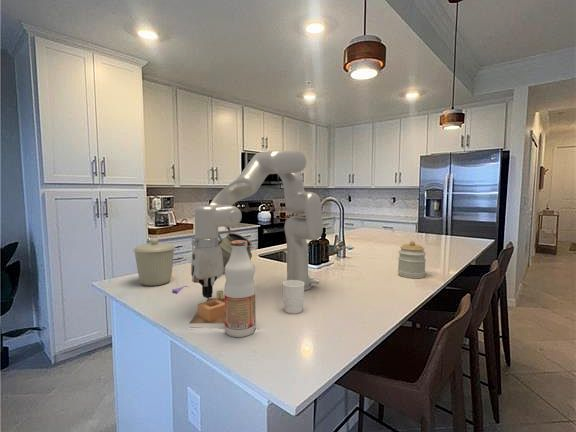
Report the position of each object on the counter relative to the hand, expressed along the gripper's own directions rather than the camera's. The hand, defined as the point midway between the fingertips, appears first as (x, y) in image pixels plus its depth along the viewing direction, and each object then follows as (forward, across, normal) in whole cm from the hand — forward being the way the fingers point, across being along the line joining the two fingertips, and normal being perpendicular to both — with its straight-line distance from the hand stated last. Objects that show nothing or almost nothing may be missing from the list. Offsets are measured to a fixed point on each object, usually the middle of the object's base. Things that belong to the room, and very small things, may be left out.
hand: (207, 296), depth 108 cm
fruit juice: (+8, +2, -16) cm, 18 cm away
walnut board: (+7, +4, +1) cm, 9 cm away
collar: (+6, 0, -3) cm, 6 cm away
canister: (+8, +4, +53) cm, 54 cm away
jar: (+7, +102, -25) cm, 105 cm away
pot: (+7, +43, +47) cm, 64 cm away
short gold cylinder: (+6, +8, +5) cm, 11 cm away
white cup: (+7, +26, -15) cm, 31 cm away
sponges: (+8, +8, +29) cm, 31 cm away
